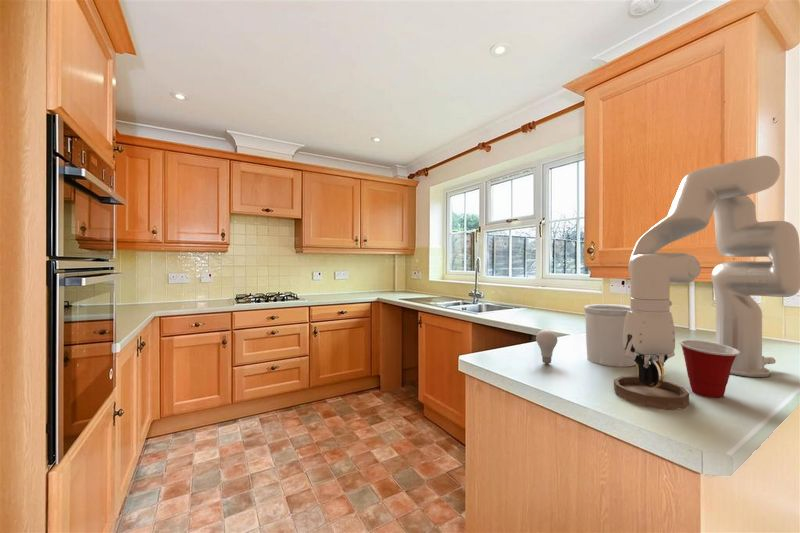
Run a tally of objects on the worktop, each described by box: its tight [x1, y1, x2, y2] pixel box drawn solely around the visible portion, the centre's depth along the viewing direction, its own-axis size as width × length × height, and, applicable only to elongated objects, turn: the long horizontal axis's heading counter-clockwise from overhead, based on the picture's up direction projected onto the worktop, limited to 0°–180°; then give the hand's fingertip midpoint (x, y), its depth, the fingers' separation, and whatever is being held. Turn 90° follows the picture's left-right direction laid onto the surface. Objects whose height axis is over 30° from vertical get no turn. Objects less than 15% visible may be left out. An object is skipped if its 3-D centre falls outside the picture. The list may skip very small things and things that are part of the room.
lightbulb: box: [535, 329, 558, 365], centre depth 107 cm, size 6×6×11 cm
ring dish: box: [613, 375, 690, 411], centre depth 81 cm, size 14×14×2 cm
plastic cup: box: [679, 339, 740, 399], centre depth 82 cm, size 11×11×12 cm
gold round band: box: [636, 355, 665, 388], centre depth 81 cm, size 7×3×8 cm, turn 178°
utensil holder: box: [583, 303, 636, 368], centre depth 110 cm, size 15×15×18 cm
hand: (649, 382), depth 81 cm, fingers closed on gold round band, 1 cm apart
